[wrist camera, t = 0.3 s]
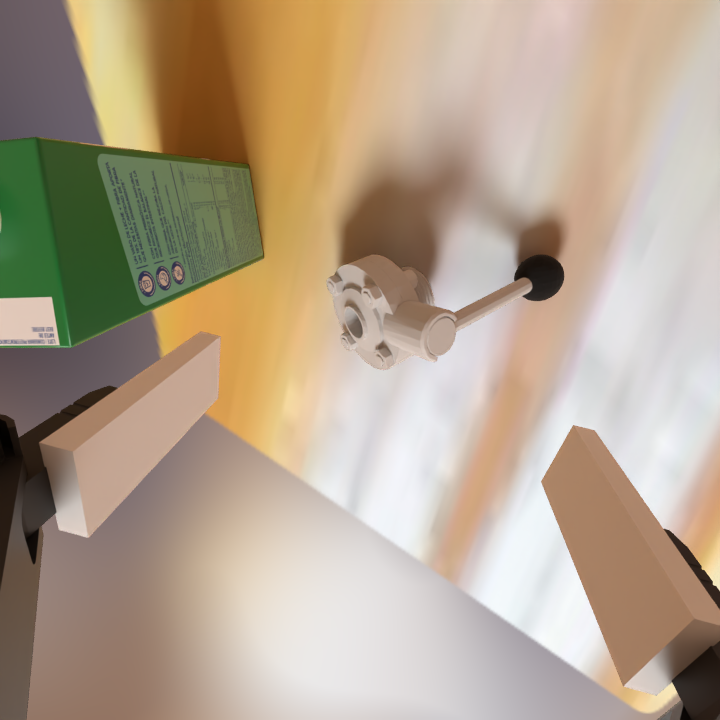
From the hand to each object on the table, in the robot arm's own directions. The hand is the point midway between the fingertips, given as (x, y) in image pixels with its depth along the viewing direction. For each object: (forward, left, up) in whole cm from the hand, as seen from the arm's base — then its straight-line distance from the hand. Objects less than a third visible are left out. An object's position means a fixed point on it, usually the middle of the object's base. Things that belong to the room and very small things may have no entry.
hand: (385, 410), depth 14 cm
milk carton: (-4, -20, -28) cm, 34 cm away
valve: (+2, -1, -30) cm, 30 cm away
